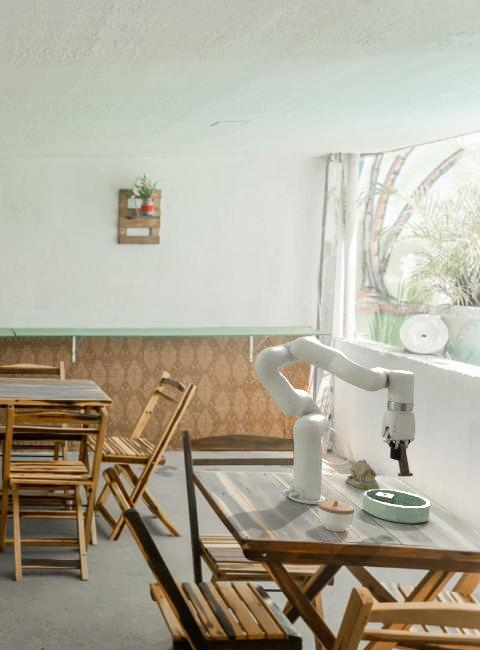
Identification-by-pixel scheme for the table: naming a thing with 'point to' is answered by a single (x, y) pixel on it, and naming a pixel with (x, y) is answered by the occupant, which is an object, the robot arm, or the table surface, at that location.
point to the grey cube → (385, 498)
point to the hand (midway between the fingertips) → (397, 458)
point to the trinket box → (335, 514)
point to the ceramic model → (362, 476)
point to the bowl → (397, 506)
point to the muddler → (403, 461)
